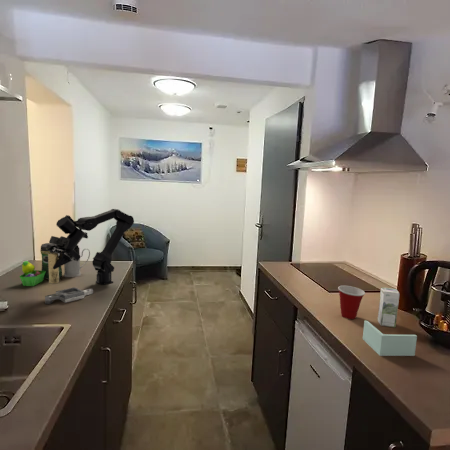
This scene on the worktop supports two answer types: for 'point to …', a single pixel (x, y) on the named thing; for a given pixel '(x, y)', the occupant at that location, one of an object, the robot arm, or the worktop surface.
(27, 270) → the fruit basket
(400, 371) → the worktop surface
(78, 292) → the ball-tipped frame bar
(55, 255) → the brass pin
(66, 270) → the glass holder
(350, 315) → the plastic cup
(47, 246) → the robot arm
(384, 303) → the syrup box
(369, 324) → the l-shaped corner panel
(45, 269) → the coffee jar
